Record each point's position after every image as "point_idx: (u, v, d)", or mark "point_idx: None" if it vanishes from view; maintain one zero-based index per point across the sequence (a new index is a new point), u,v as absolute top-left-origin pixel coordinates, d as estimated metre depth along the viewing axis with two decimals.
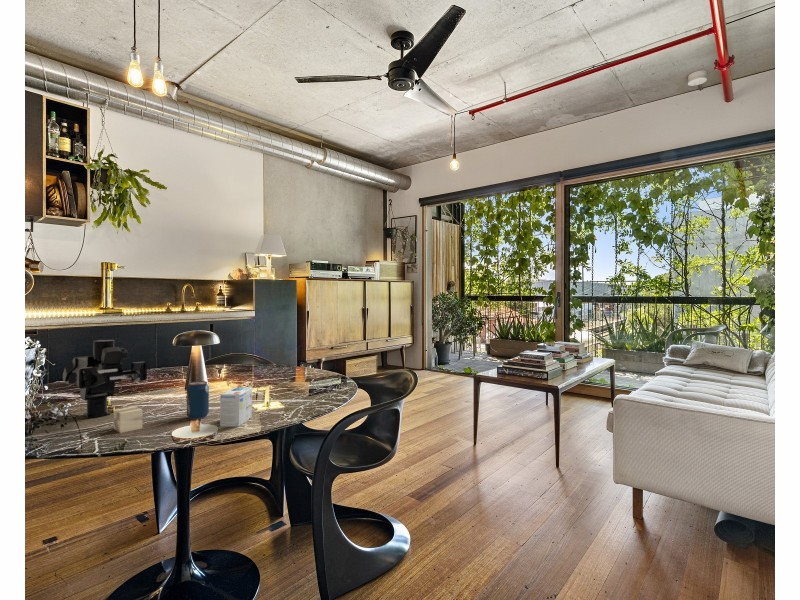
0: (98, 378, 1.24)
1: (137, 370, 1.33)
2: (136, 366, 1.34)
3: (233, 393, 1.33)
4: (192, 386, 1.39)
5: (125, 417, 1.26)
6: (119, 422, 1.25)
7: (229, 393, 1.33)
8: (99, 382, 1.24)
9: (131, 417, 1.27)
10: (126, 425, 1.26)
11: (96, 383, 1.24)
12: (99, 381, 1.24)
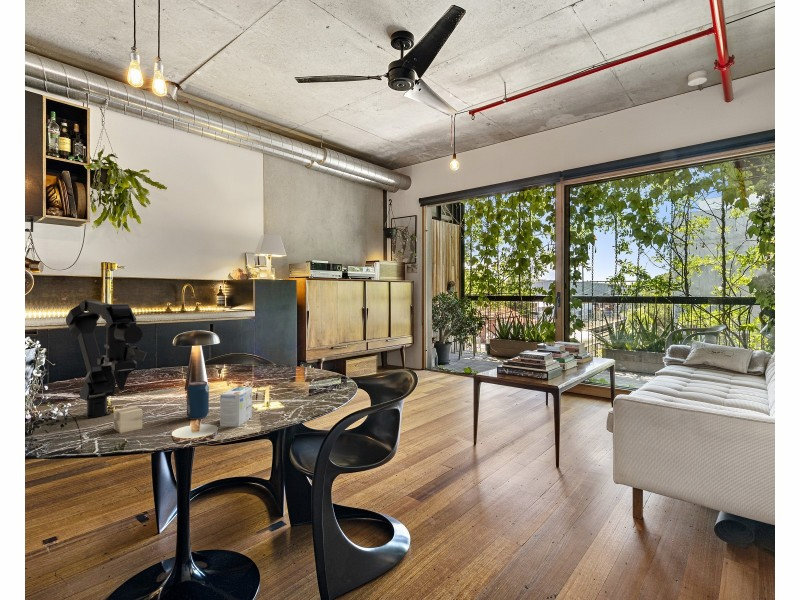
0: (123, 381, 1.32)
1: None
2: None
3: (233, 393, 1.33)
4: (192, 386, 1.39)
5: (125, 417, 1.26)
6: (119, 422, 1.25)
7: (229, 393, 1.33)
8: (119, 383, 1.32)
9: (131, 417, 1.27)
10: (126, 425, 1.26)
11: (117, 380, 1.31)
12: (120, 383, 1.32)
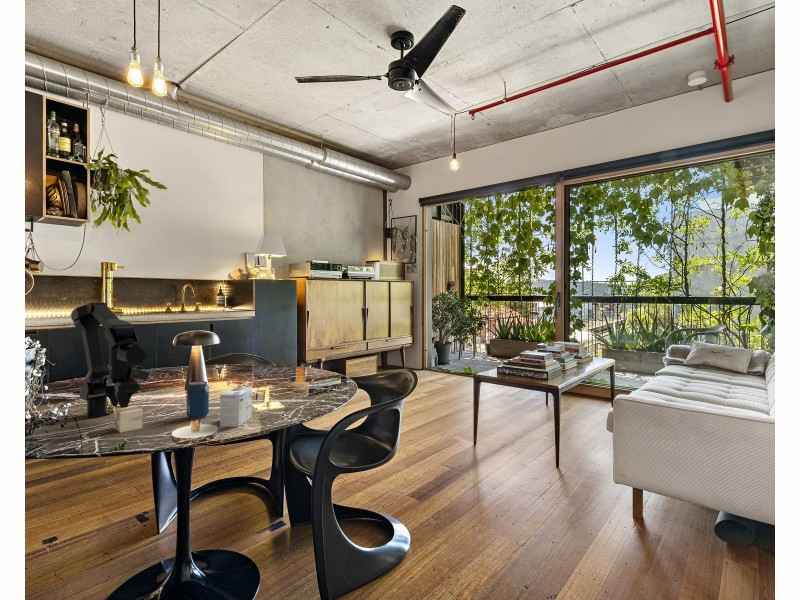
0: (126, 403, 1.31)
1: None
2: None
3: (233, 393, 1.33)
4: (192, 386, 1.39)
5: (125, 417, 1.26)
6: (119, 422, 1.25)
7: (229, 393, 1.33)
8: (122, 405, 1.30)
9: (131, 417, 1.27)
10: (127, 424, 1.26)
11: (120, 401, 1.29)
12: (123, 405, 1.30)
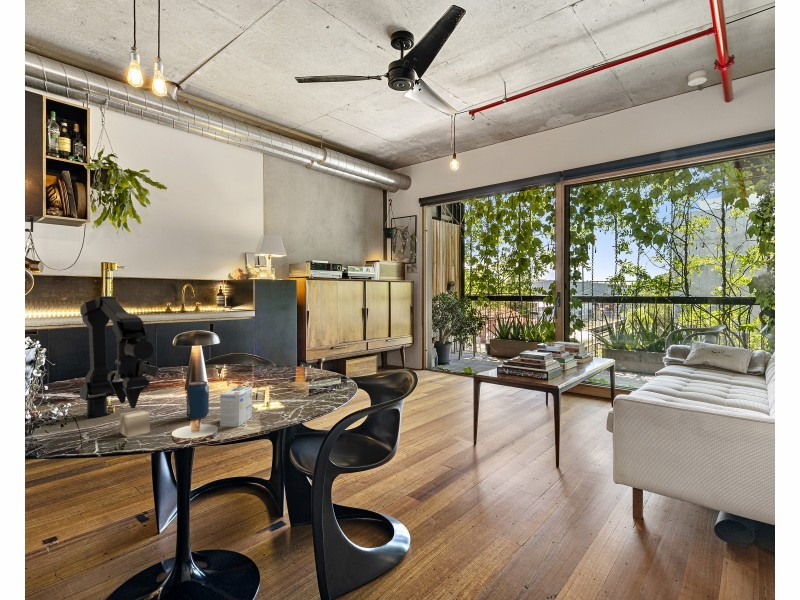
0: (135, 399, 1.26)
1: None
2: None
3: (233, 393, 1.33)
4: (192, 386, 1.39)
5: None
6: (123, 432, 1.23)
7: (229, 393, 1.33)
8: (130, 401, 1.25)
9: None
10: None
11: (129, 397, 1.24)
12: (132, 401, 1.25)
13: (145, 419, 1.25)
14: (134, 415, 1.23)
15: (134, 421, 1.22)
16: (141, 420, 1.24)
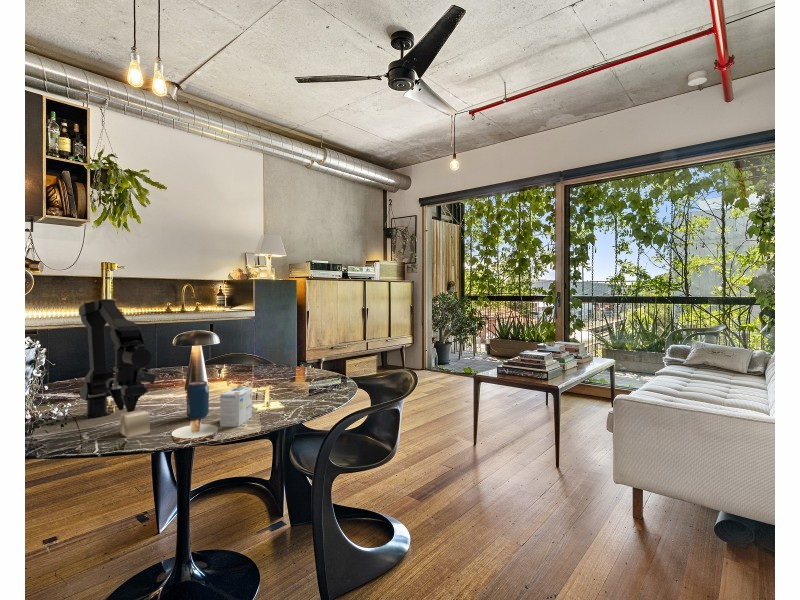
0: (133, 406, 1.27)
1: None
2: None
3: (233, 393, 1.33)
4: (192, 386, 1.39)
5: None
6: (123, 432, 1.23)
7: (229, 393, 1.33)
8: (128, 408, 1.26)
9: None
10: None
11: (127, 405, 1.26)
12: (129, 408, 1.27)
13: (145, 419, 1.25)
14: (134, 415, 1.23)
15: (134, 421, 1.22)
16: (141, 420, 1.24)
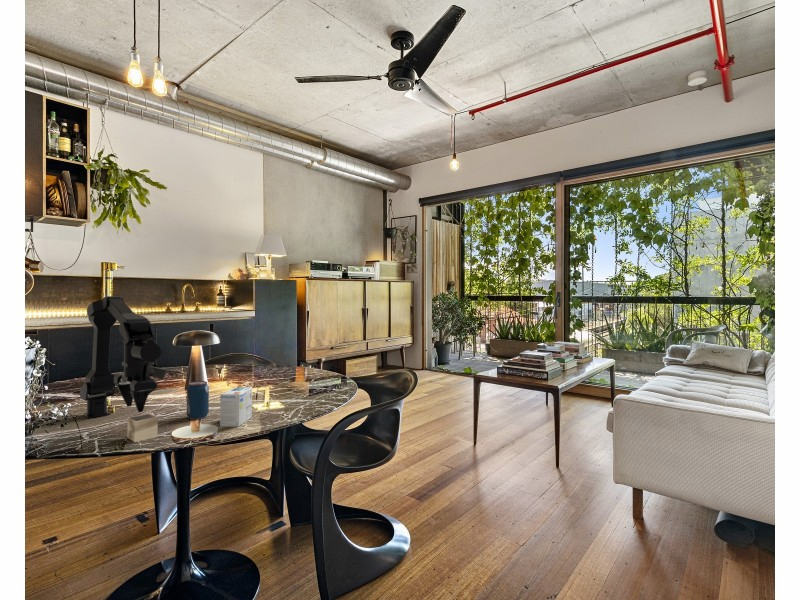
0: (142, 402, 1.22)
1: None
2: None
3: (233, 393, 1.33)
4: (192, 386, 1.39)
5: None
6: (128, 428, 1.20)
7: (229, 393, 1.33)
8: (138, 405, 1.21)
9: None
10: None
11: (136, 401, 1.21)
12: (139, 405, 1.22)
13: None
14: (143, 436, 1.19)
15: None
16: None
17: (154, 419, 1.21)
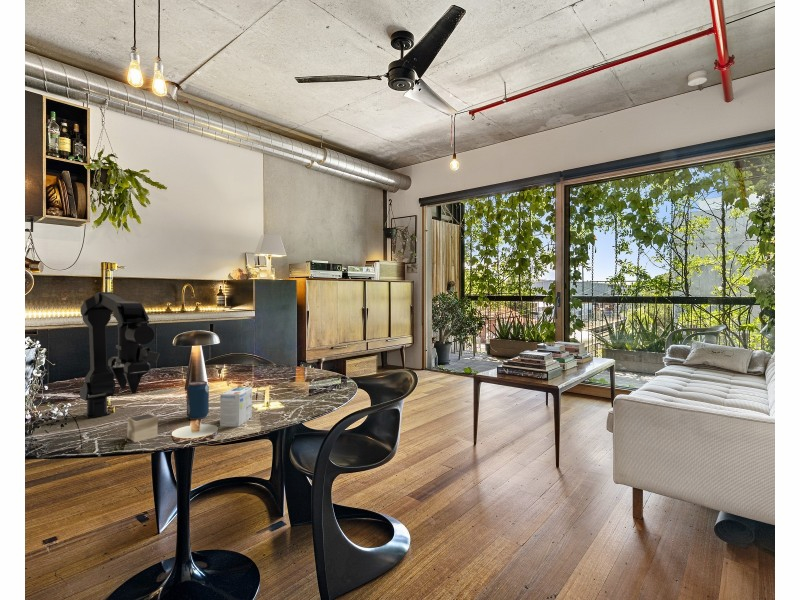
0: (136, 384, 1.25)
1: None
2: None
3: (233, 393, 1.33)
4: (192, 386, 1.39)
5: None
6: (128, 428, 1.20)
7: (229, 393, 1.33)
8: (131, 386, 1.25)
9: None
10: None
11: (130, 382, 1.24)
12: (132, 386, 1.25)
13: None
14: (143, 436, 1.19)
15: None
16: None
17: (154, 419, 1.21)
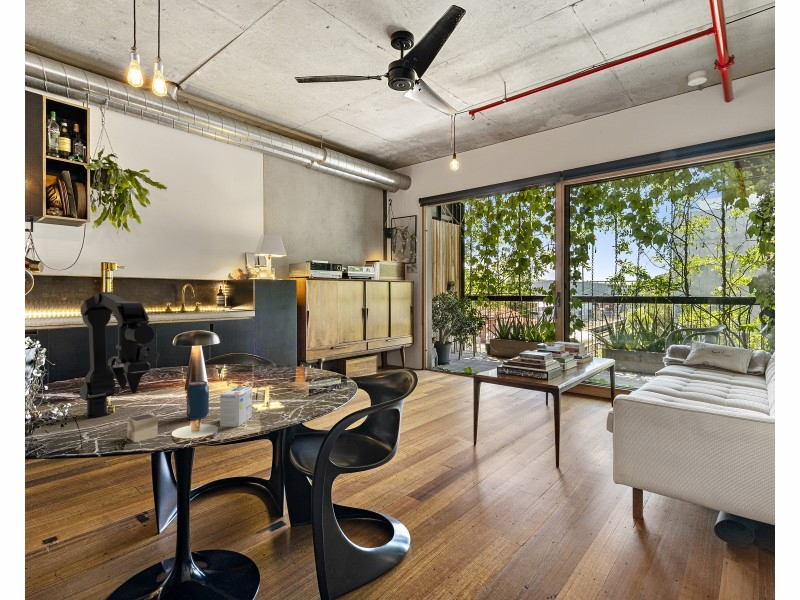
0: (136, 384, 1.25)
1: None
2: None
3: (233, 393, 1.33)
4: (192, 386, 1.39)
5: None
6: (128, 428, 1.20)
7: (229, 393, 1.33)
8: (131, 386, 1.25)
9: None
10: None
11: (130, 382, 1.24)
12: (132, 386, 1.25)
13: None
14: (143, 436, 1.19)
15: None
16: None
17: (154, 419, 1.21)
